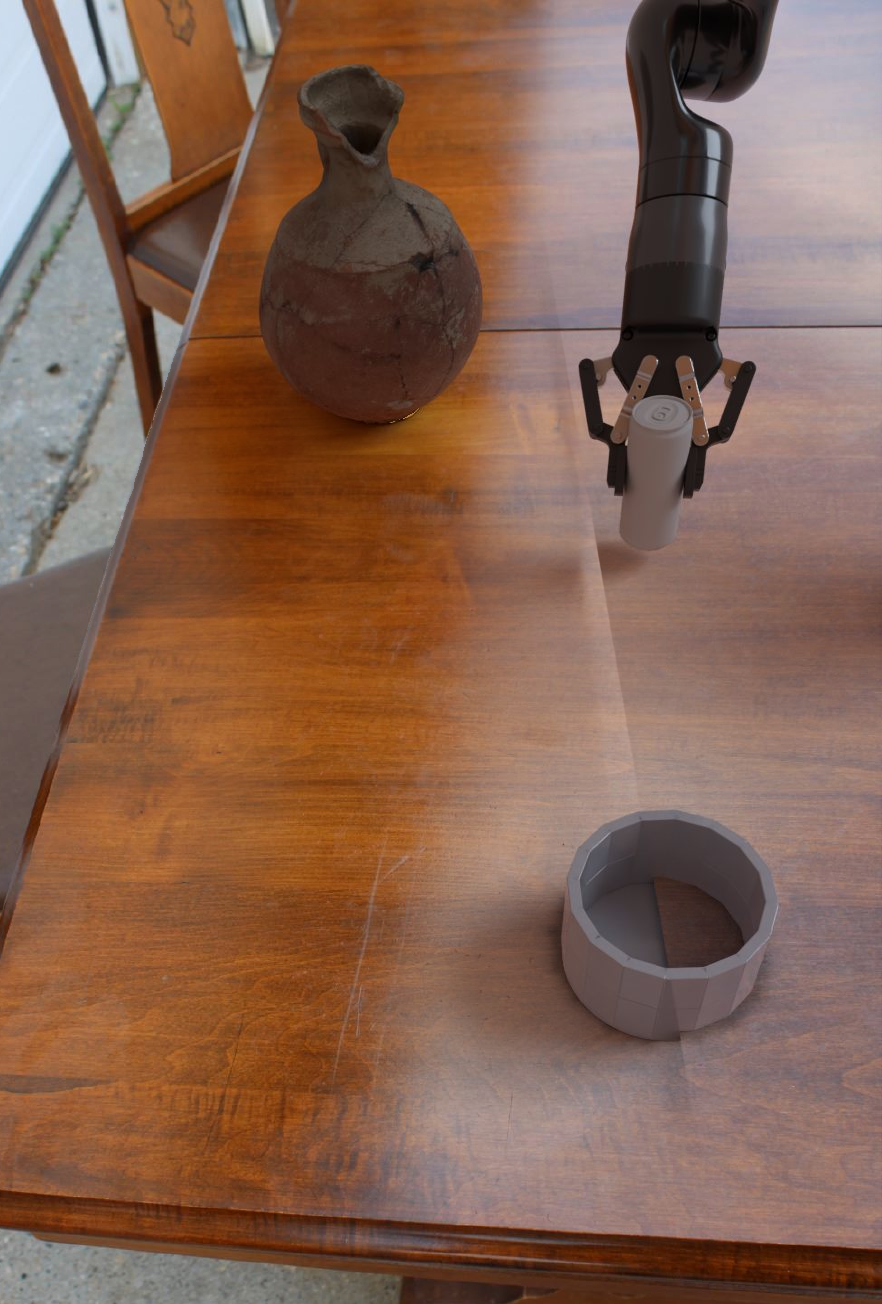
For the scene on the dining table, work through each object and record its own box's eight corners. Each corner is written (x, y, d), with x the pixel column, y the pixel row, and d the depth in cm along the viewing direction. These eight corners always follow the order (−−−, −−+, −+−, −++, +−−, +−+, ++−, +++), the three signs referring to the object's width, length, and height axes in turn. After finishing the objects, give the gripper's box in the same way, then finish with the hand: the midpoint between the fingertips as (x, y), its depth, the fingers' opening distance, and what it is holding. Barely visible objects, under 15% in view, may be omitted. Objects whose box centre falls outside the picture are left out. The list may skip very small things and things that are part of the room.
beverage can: (608, 544, 101) (619, 421, 92) (634, 511, 104) (647, 388, 94) (662, 561, 99) (678, 437, 90) (686, 527, 102) (705, 403, 92)
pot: (735, 876, 84) (755, 805, 78) (771, 1038, 76) (797, 975, 70) (553, 882, 85) (559, 814, 79) (571, 1043, 77) (578, 982, 71)
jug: (347, 493, 114) (310, 169, 91) (234, 396, 126) (176, 87, 103) (526, 405, 120) (535, 79, 97) (402, 320, 132) (384, 11, 109)
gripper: (580, 257, 91) (561, 486, 94) (777, 257, 88) (752, 493, 91) (582, 287, 99) (564, 499, 101) (764, 287, 96) (741, 505, 98)
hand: (653, 495), depth 96 cm, fingers closed on beverage can, 4 cm apart
